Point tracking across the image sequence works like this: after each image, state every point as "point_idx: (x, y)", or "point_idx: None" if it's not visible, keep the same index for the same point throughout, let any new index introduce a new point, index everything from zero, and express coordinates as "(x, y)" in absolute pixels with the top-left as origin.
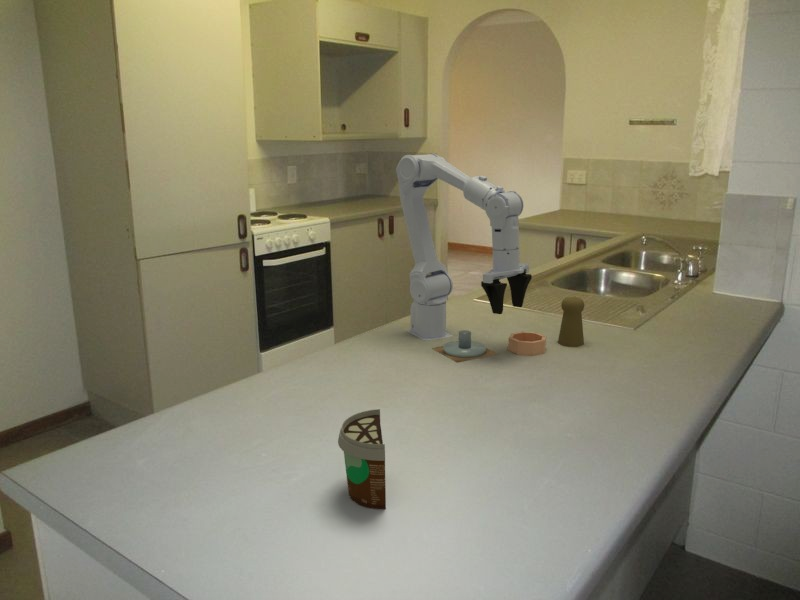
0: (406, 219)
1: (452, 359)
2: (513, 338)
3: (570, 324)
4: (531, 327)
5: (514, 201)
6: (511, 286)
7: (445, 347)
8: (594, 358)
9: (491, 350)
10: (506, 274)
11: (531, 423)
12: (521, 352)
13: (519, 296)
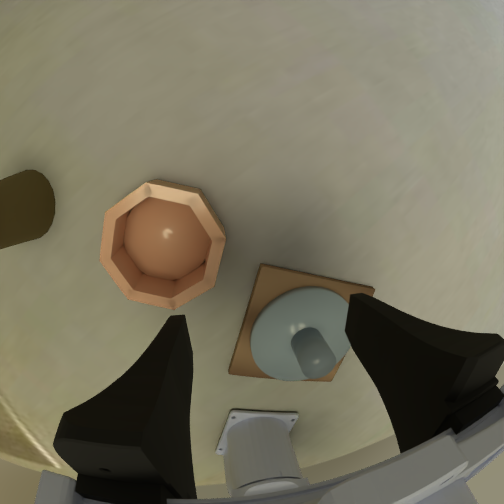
0: None
1: None
2: (208, 271)
3: (9, 200)
4: (35, 345)
5: None
6: (188, 443)
7: (336, 360)
8: (84, 77)
9: (252, 298)
10: (481, 436)
11: (458, 36)
12: (217, 219)
13: (179, 360)
